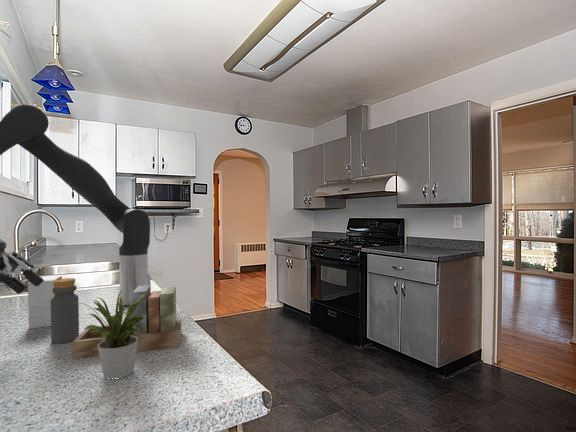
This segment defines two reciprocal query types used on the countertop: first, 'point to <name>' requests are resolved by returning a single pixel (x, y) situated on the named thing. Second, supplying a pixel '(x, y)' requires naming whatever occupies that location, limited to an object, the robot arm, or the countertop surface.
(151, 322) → the rack
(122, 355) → the house plant
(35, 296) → the small box
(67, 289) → the bottle
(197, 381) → the countertop surface
